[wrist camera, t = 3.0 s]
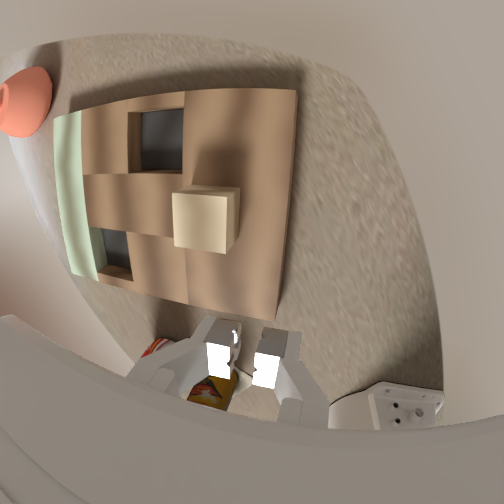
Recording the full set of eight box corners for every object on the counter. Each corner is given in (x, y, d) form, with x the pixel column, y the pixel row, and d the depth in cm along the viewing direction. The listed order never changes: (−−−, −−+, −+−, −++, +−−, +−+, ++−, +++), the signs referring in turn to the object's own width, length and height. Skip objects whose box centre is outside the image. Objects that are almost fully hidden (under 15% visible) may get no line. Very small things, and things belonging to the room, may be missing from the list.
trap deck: (298, 95, 23) (296, 90, 20) (278, 306, 33) (274, 321, 30) (68, 117, 29) (53, 118, 26) (83, 265, 39) (72, 273, 36)
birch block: (240, 187, 25) (227, 197, 21) (238, 237, 27) (225, 254, 23) (191, 184, 26) (171, 192, 22) (192, 231, 28) (174, 246, 24)
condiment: (214, 352, 39) (183, 413, 28) (258, 380, 39) (239, 443, 29) (193, 370, 42) (164, 425, 31) (234, 396, 43) (213, 451, 32)
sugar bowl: (51, 140, 31) (0, 151, 22) (17, 129, 32) (-24, 139, 23) (67, 66, 25) (15, 64, 16) (29, 68, 26) (-14, 70, 17)
